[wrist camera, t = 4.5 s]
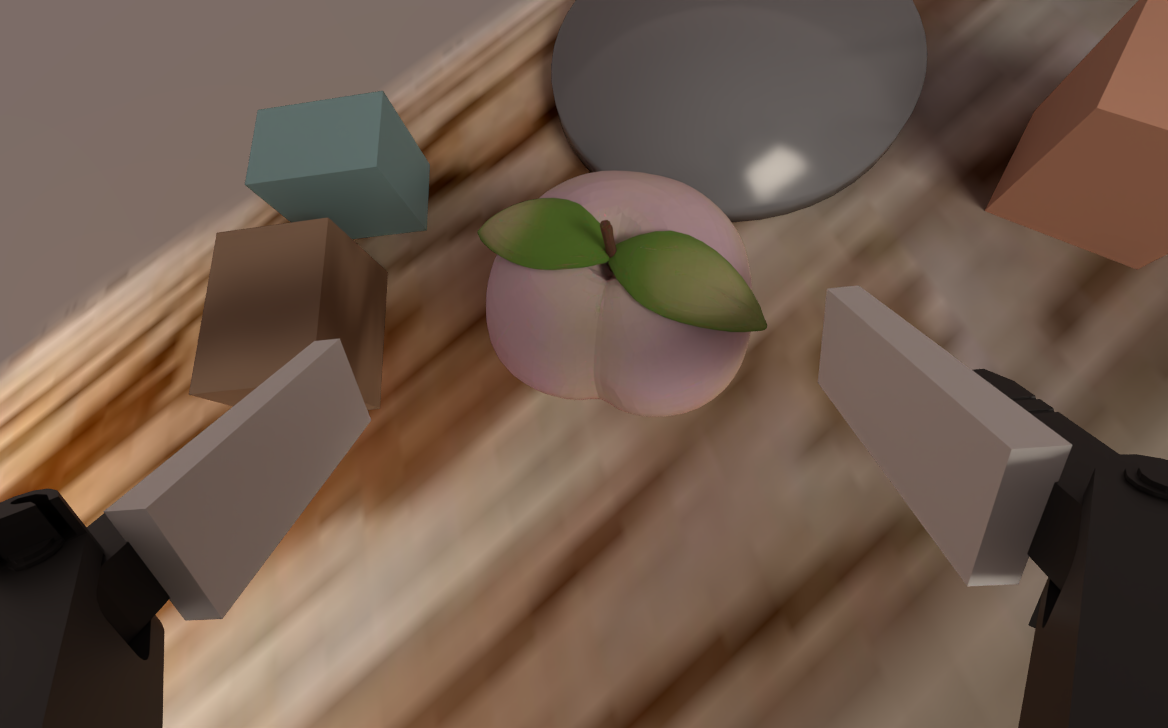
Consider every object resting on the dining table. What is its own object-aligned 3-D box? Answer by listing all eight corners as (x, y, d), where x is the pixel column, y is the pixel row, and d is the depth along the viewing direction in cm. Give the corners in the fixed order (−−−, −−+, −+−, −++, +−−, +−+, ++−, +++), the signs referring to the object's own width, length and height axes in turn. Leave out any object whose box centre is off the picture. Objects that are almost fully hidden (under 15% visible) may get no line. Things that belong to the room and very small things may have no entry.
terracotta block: (1033, 111, 23) (1156, -19, 18) (1181, 160, 22) (1367, 34, 16) (983, 212, 22) (1096, 107, 17) (1135, 270, 21) (1318, 177, 15)
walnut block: (296, 284, 26) (216, 232, 21) (388, 273, 25) (328, 217, 21) (281, 418, 24) (188, 394, 19) (381, 409, 23) (311, 381, 19)
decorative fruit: (749, 277, 23) (818, 105, 13) (715, 455, 21) (769, 403, 11) (551, 244, 24) (488, 71, 15) (502, 404, 22) (394, 323, 13)
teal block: (430, 165, 27) (382, 90, 22) (427, 231, 26) (376, 166, 21) (325, 179, 28) (257, 110, 23) (318, 244, 26) (244, 184, 22)
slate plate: (716, -100, 30) (719, -125, 29) (995, 49, 24) (1012, 26, 23) (489, 87, 28) (482, 69, 27) (738, 295, 22) (742, 283, 21)
